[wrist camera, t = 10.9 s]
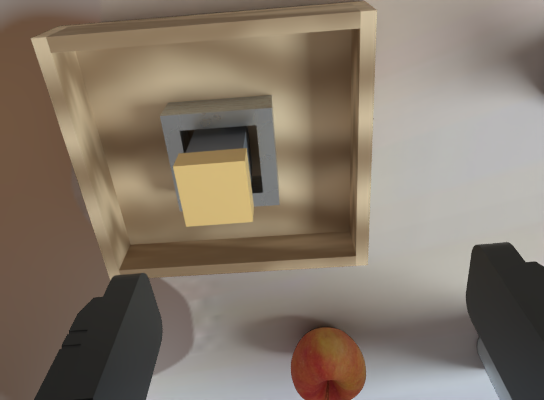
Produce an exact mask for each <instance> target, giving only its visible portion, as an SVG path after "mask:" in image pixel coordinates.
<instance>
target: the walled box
mask: <svg viewBox="0 0 544 400" xmlns="http://www.w3.org/2000/svg"><path fill="white" fill-rule="evenodd" d="M376 22H377V10H376V9H375V8H373V7H372V6H371V5H369V4H368V3H367V2H365V1H357V2H345V3H333V4H320V5H308V6H296V7H284V8H272V9H260V10H248V11H235V12H223V13H211V14H199V15H187V16H175V17H163V18H150V19H138V20H126V21H114V22H102V23H90V24H78V25H65V26H58V27H56V28H53V29H51V30H49V31H47V32H44V33H42V34H40V35H37V36H35V37H33V38H31V41H32V44H33V47H34V50H35V53H36V56H37V59H38V62H39V65H40V68H41V71H42V74H43V77H44V80H45V83H46V86H47V89H48V92H49V96H50V99H51V102H52V105H53V108H54V111H55V114H56V117H57V120H58V123H59V126H60V129H61V132H62V135H63V138H64V141H65V144H66V147H67V150H68V153H69V156H70V159H71V162H72V166H73V169H74V172H75V175H76V178H77V181H78V184H79V187H80V190H81V193H82V196H83V199H84V202H85V205H86V208H87V211H88V214H89V217H90V220H91V223H92V226H93V229H94V232H95V235H96V239H97V242H98V245H99V247H100V251H101V254H102V256H103V260H104V263H105V265H106V269H107V272H108V275H109V278H110V280H111V279H112V277H113V276H115V275H124V274H136V273H145V274H147V276H148V278H157V277H174V276H191V275H208V274H225V273H242V272H259V271H276V270H293V269H310V268H327V267H344V266H361V265H368V245H369V218H370V190H371V162H372V134H373V106H374V78H375V50H376ZM264 95H272V102H273V115H274V128H275V140H276V153H277V166H278V178H279V201H280V205H272V206H256V207H254V213H253V222H245V223H232V224H218V225H204V226H190V227H186V224H185V219H184V215H183V211H180V210H179V205H178V200H177V196H176V191H175V186H174V181H173V177H172V172H171V167H170V162H169V157H168V153H167V148H166V143H165V138H164V134H163V129H162V124H161V119H160V115H161V113H162V112H163V110H164V109H165V107H166V105H167V104H168V103H170V102H183V101H197V100H210V99H223V98H237V97H250V96H264ZM193 133H194V130H189V134H190V140H191V138H192V135H193ZM248 133H249V141H250V149H251V157H252V166H253V168H252V176H260V175H261V166H260V156H259V146H258V135H257V125H251V126H248Z"/></svg>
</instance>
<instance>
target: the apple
mask: <svg viewBox="0 0 544 400" xmlns="http://www.w3.org/2000/svg"><path fill="white" fill-rule="evenodd" d="M291 375H292V380H293V383H294V386H295V388H296V390H297V392H298V393H299V394H300V396H301V397H302V398H303V399H305V400H351V399H353V398H354V397H355V396H357V395H358V394H359V393H360V391H361V390H362V388H363V386H364V383H365V379H366V366H365V361H364V358H363V355H362V353H361V351H360V349H359V347H358V346H357V344H356V343H355V342H354V341H353V339H352V338H351V337H350V336H348V335H347V334H346V333H345V332H343V331H341V330H339V329H335V328H329V327H324V328H317V329H314V330H311V331H309V332H308V333H307V334H305V335H304V336H303V337H302V339H301V340H300V341H299V343H298V344H297V346H296V348H295V351H294V353H293V356H292V361H291Z"/></svg>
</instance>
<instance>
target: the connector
mask: <svg viewBox="0 0 544 400" xmlns="http://www.w3.org/2000/svg"><path fill="white" fill-rule="evenodd" d="M252 168H253V166H252V157H251V149H250V141H249V133H248V126H238V127H224V128H210V129H196V130H194V133H193V135H192V138H191V140H190V143H189V145H188V148H187V150H186V153H179V154H178V156H177V158H176V161H175V163H174V165H173V169H174V174H175V178H176V183H177V187H178V192H179V196H180V201H181V206H182V210H183V215H184V219H185V224H186V227H190V226H204V225H218V224H232V223H245V222H253V213H254V203H253V195H252V187H251V179H252Z"/></svg>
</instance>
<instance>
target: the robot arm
mask: <svg viewBox="0 0 544 400" xmlns="http://www.w3.org/2000/svg"><path fill="white" fill-rule="evenodd" d="M466 304H467V309H468V313H469V316H470V318H471V321H472V323H473V325H474V326H475V328H476V330H477V332H478V334H479V336H480V338H479V340H478V345H477V350H478V354H479V356H480V358H481V360H482V363H483V365H484V367H485V370H486V372H487V374H488V376H489V379H490V381H491V383H492V385H493V387H494V389H495V391H496V393H497V395H498V397H499V399H500V400H544V267H543V266H542V265H540V264H539V263H537V262H525V261H524V260H523V258H522V257H521V256H520V254H519V253H518V252H517V250H516V249H515V248H514V246H513V245H512V244H510V243H508V242H504V243H493V244H481V245H475V246H474V247H473V249H472V253H471V261H470V268H469V275H468V282H467V290H466ZM161 341H162V320H161V316H160V312H159V309H158V306H157V303H156V300H155V297H154V293H153V290H152V287H151V284H150V281H149V278H148V276H147V274H145V273H136V274H124V275H115V276H113V277H112V279H111V281H110V283H109V285H108V287H107V290H106V292H105V294H104V296H103V297H96V298H93V299H92V300H91V301H90V302H89V303H88V304H87V305H86V306H85V307H84V308H83V309H82V310H81V311H80V312H79V313H78V314H77V316H76V318H75V320H74V322H73V324H72V326H71V328H70V330H69V334H68V335H67V336H66V338H65V340H64V342H63V344H62V349H60V350H59V352H58V354H57V356H56V357H55V360H54V362H53V364H52V365H51V367H50V369H49V371H48V373H47V375H46V377H45V379H44V381H43V383H42V385H41V387H40V389H39V391H38V393H37V395H36V397H35V399H34V400H146V397H147V393H148V389H149V386H150V382H151V378H152V375H153V371H154V367H155V364H156V360H157V356H158V352H159V348H160V345H161Z"/></svg>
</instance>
